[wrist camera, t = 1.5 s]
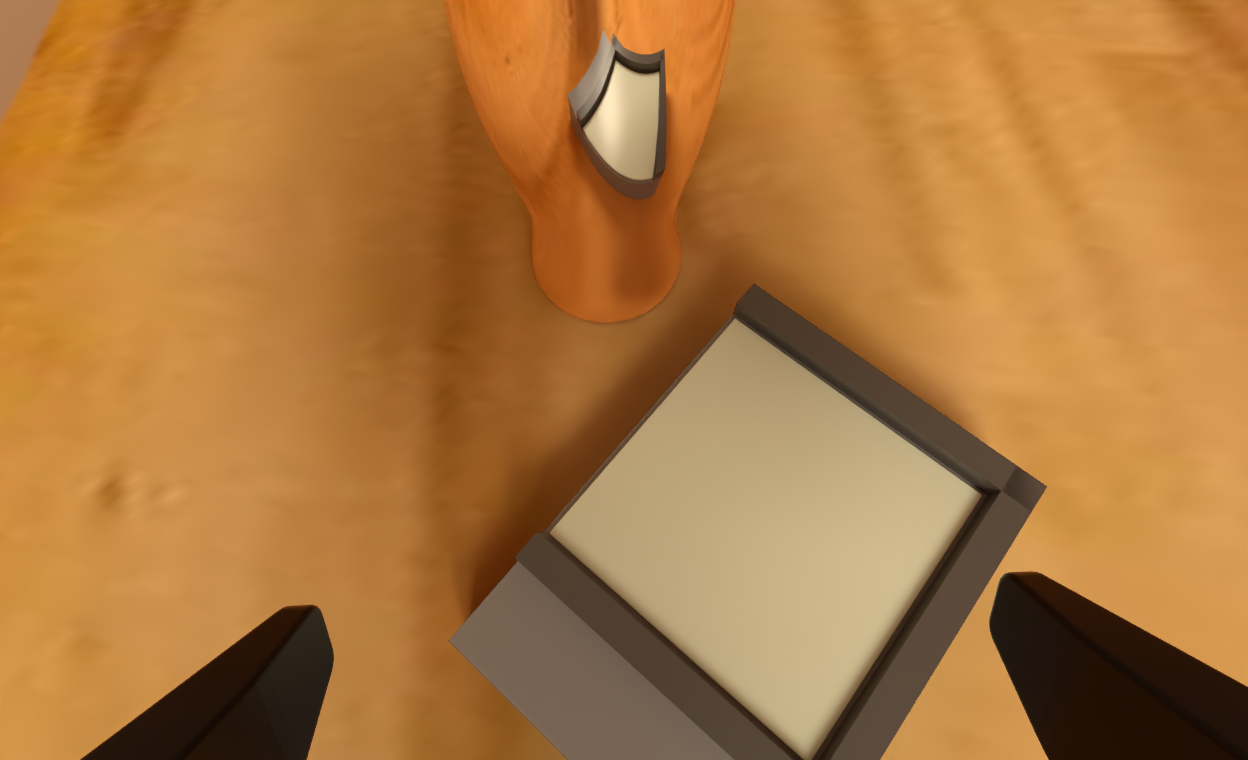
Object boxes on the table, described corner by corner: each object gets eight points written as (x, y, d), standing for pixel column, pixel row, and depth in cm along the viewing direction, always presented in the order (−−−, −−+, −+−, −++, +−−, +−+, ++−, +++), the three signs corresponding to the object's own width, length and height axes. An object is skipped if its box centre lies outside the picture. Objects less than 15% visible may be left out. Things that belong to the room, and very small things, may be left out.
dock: (736, 903, 18) (758, 958, 15) (468, 639, 21) (440, 641, 18) (989, 505, 23) (1046, 486, 19) (738, 325, 25) (754, 283, 22)
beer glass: (625, 367, 25) (620, 24, 11) (487, 274, 26) (323, -133, 12) (723, 241, 27) (829, -188, 13) (590, 162, 28) (551, -300, 14)
